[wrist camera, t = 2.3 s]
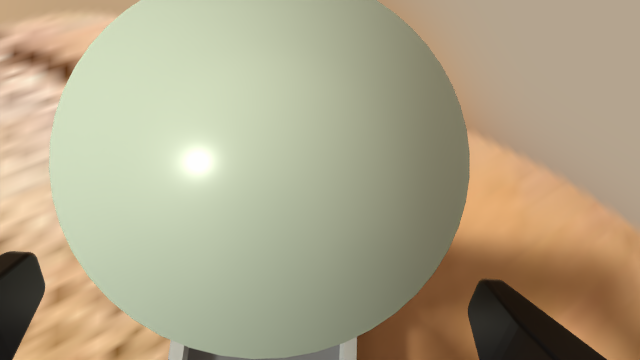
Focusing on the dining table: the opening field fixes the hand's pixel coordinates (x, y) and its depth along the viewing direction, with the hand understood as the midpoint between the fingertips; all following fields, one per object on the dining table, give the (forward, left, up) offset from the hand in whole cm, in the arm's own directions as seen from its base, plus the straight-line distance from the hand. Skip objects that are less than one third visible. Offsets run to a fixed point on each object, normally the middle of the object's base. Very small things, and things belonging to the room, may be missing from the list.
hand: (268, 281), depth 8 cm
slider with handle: (+1, 0, -8) cm, 9 cm away
